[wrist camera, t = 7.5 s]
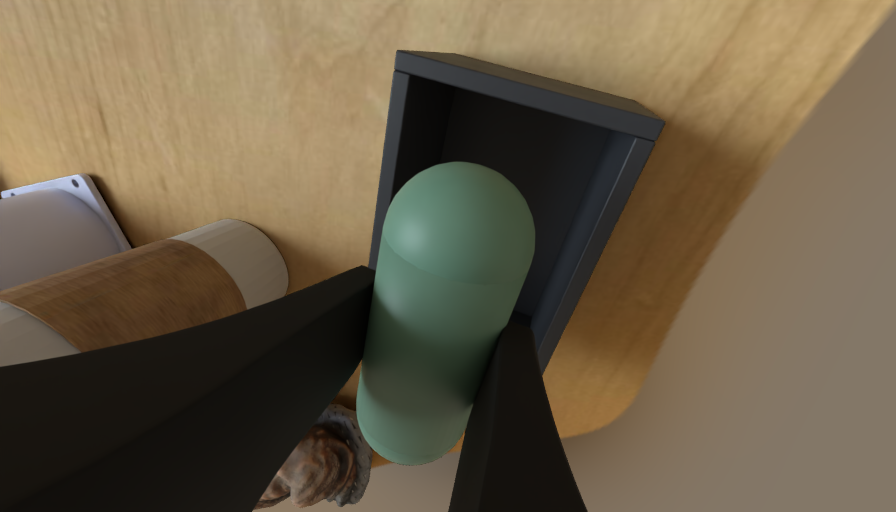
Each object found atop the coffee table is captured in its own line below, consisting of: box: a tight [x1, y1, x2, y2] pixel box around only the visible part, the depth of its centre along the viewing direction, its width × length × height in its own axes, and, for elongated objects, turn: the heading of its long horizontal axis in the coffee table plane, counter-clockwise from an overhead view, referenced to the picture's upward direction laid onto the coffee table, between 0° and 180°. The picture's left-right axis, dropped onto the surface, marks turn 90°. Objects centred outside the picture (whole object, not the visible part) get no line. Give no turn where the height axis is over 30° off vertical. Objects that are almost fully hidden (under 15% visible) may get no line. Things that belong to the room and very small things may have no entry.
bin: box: [368, 50, 665, 375], centre depth 15 cm, size 10×7×6 cm, turn 167°
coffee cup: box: [0, 219, 288, 367], centre depth 17 cm, size 8×8×15 cm
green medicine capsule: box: [356, 162, 535, 466], centre depth 9 cm, size 8×3×3 cm, turn 167°
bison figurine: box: [253, 404, 372, 510], centre depth 24 cm, size 12×7×10 cm, turn 119°
